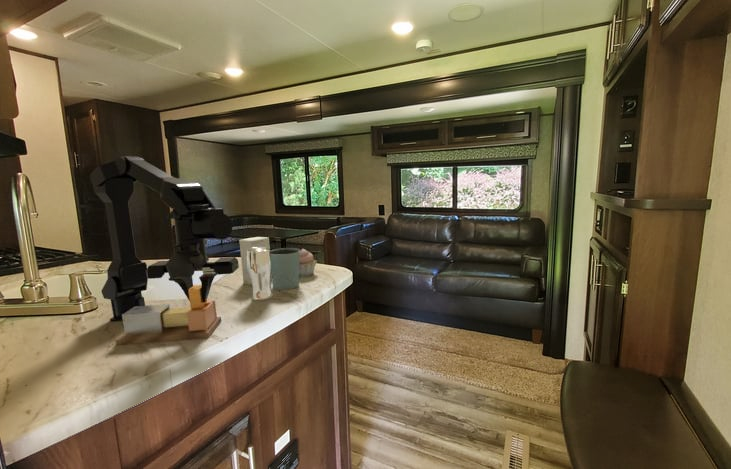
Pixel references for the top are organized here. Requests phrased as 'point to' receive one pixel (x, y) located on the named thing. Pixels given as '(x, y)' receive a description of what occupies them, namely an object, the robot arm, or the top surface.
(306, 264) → the cupcake
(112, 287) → the robot arm
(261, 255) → the beer glass
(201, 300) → the wooden blocks
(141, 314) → the steel sleeve
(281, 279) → the teal mug
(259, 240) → the skincare box
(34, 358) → the top surface
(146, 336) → the walnut board
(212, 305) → the terracotta socket
